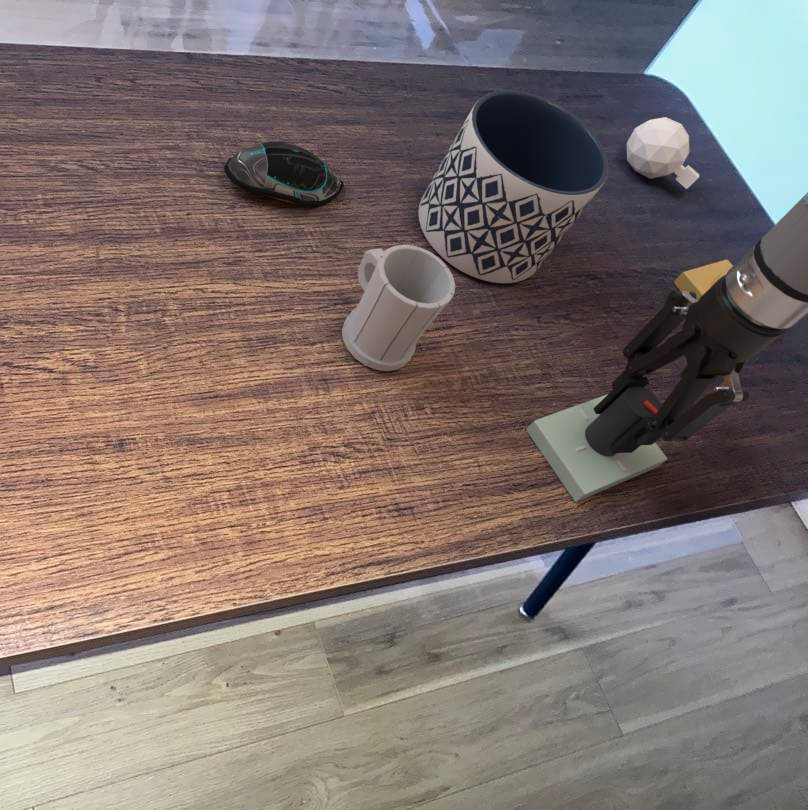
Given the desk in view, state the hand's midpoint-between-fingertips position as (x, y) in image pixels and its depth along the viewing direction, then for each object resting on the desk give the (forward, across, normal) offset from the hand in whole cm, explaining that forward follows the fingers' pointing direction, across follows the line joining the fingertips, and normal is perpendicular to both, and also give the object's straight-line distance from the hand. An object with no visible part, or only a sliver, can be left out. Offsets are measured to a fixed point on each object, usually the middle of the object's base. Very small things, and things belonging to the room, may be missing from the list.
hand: (612, 430), depth 103 cm
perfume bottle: (+4, -48, +31) cm, 58 cm away
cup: (+4, -15, -25) cm, 29 cm away
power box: (+4, -22, +32) cm, 39 cm away
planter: (+4, -33, -4) cm, 34 cm away
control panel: (+4, 0, 0) cm, 4 cm away
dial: (+2, 0, 0) cm, 2 cm away
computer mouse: (+4, -40, -31) cm, 51 cm away
